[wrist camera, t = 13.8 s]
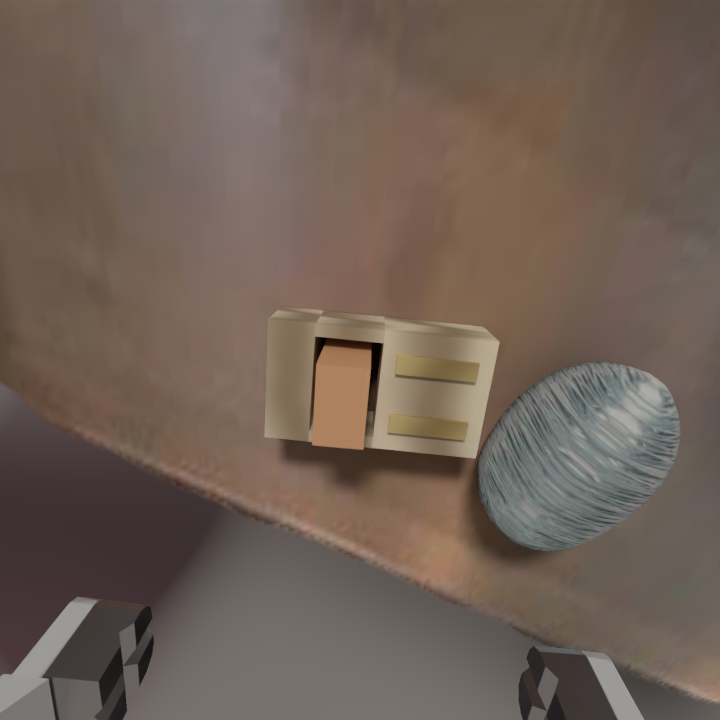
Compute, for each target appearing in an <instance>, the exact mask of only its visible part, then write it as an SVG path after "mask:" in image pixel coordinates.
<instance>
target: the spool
mask: <svg viewBox="0 0 720 720" xmlns="http://www.w3.org/2000/svg"><path fill="white" fill-rule="evenodd" d="M679 441H680V422H679V416H678V413H677V409H676V406H675V403H674V400H673V397H672V395H671V393H670V392H669V390H668V389H667V388H666V386H665V385H664V384H663V383H662V382H660V381H659V380H658V379H657V378H655V377H654V376H652V375H651V374H649V373H646V372H644V371H641V370H639V369H636V368H633V367H630V366H626V365H622V364H617V363H612V362H588V363H581V364H577V365H574V366H570V367H567V368H564V369H561V370H559V371H557V372H555V373H553V374H551V375H548V376H547V377H545V378H544V379H542V380H541V381H539V382H538V383H536V384H535V385H533V386H532V387H530V388H529V389H527V390H526V391H525V392H524V393H522V394H521V395H520V396H519V397H518V398H517V399H516V400H515V401H514V402H513V403H512V404H511V406H510V407H509V408H508V409H507V410H506V411H505V413H504V414H503V415H502V416H501V418H500V419H499V420H498V422H497V423H496V425H495V427H494V429H493V430H492V432H491V433H490V435H489V436H488V438H487V440H486V442H485V444H484V445H483V448H482V451H481V454H480V457H479V461H478V467H477V487H478V492H479V496H480V500H481V503H482V506H483V508H484V509H485V511H486V513H487V515H488V517H489V519H490V520H491V522H492V523H493V524H494V526H495V527H496V528H497V529H498V530H499V531H500V532H501V533H502V534H503V535H504V536H505V537H507V538H508V539H510V540H511V541H513V542H515V543H517V544H519V545H521V546H524V547H526V548H528V549H533V550H539V551H546V552H549V551H559V550H566V549H571V548H574V547H577V546H580V545H582V544H584V543H586V542H588V541H591V540H593V539H596V538H598V537H599V536H601V535H603V534H604V533H606V532H608V531H609V530H611V529H612V528H614V527H615V526H617V525H618V524H620V523H621V522H623V521H624V520H625V519H627V518H628V517H629V516H631V515H632V514H633V513H635V512H636V511H637V510H638V509H639V508H640V507H641V506H642V505H644V503H645V502H646V501H647V500H648V499H649V498H650V497H651V496H652V495H653V494H654V493H655V492H656V491H657V490H658V489H659V487H660V486H661V485H662V483H663V482H664V481H665V479H666V477H667V476H668V474H669V472H670V470H671V468H672V466H673V464H674V462H675V459H676V455H677V452H678V447H679Z"/></svg>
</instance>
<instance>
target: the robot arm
mask: <svg viewBox="0 0 720 720" xmlns="http://www.w3.org/2000/svg"><path fill="white" fill-rule="evenodd" d="M151 620H152V610H151V606H145V605H138V604H131V603H123V602H116V601H109V600H101V599H92V598H84V597H77V598H76V599H74V600H73V601H71V602H70V603H69V604H68V605H67V607H66V608H65V609H64V610H63V611H62V613H61V614H60V615H59V616H58V618H57V619H56V620H55V621H54V623H53V624H52V625H51V626H50V628H49V629H48V630H47V631H46V632H45V634H44V635H43V636H42V638H41V639H40V640H39V641H38V642H37V644H36V645H35V646H34V647H33V649H32V650H31V651H30V652H29V654H28V655H27V656H26V657H25V659H24V660H23V661H22V662H21V664H20V665H19V666H18V667H17V669H16V670H15V671H14V672H13V674H3V675H1V676H0V720H123V718H124V716H125V714H126V712H127V704H126V697H127V696H129V695H130V694H131V693H132V692H133V691H135V690H136V689H137V688H138V687H139V686H140V684H141V682H142V680H143V678H144V676H145V674H146V672H147V669H148V666H149V663H150V660H151V657H152V652H153V645H154V636H153V633H152V632H151V631H150V630H149V629H148V625H149V624H150V622H151ZM527 661H528V664H529V667H530V668H528V669H527V670H525V671H524V672H523V673H522V674H521V678H520V682H519V705H520V710H521V715H522V718H523V720H644V719H643V717H642V715H641V713H640V712H639V710H638V708H637V706H636V704H635V703H634V701H633V699H632V697H631V695H630V694H629V692H628V690H627V688H626V686H625V684H624V683H623V681H622V679H621V677H620V676H619V674H618V672H617V670H616V668H615V666H614V665H613V663H612V661H611V659H610V658H609V657H608V656H607V655H606V654H605V653H597V652H588V651H578V650H574V649H563V648H552V647H540V646H533V647H531V648H530V649H529V652H528V655H527Z"/></svg>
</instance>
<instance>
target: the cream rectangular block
mask: <svg viewBox="0 0 720 720" xmlns="http://www.w3.org/2000/svg"><path fill="white" fill-rule="evenodd" d="M322 337H326V338H336V339H346V340H356V341H365V342H375V343H381V347H380V356H379V365H378V374H377V382H376V391H375V400H374V409H373V411H367V416H366V426H365V437H364V447H367V448H377V449H387V450H396V451H406V452H416V453H426V454H436V455H445V456H455V457H465V458H475V459H476V455H477V450H478V445H479V440H480V435H481V431H482V426H483V421H484V416H485V411H486V406H487V401H488V396H489V391H490V387H491V382H492V377H493V372H494V367H495V362H496V357H497V352H498V347H499V343H500V342H499V341H498V340H497V339H496V338H495V337H494V336H493V335H492V334H491V333H489V332H488V331H487V330H486V329H485V328H484V327H481V326H471V325H461V324H451V323H442V322H432V321H422V320H412V319H402V318H392V317H382V316H372V315H362V314H352V313H342V312H332V311H322V310H312V309H302V308H292V307H283V306H282V307H281V308H280V309H278V310H277V311H276V312H275V313H274V314H273V315H272V316H271V317H269V318H268V335H267V371H266V407H265V437H269V438H279V439H288V440H298V441H308V442H312V436H313V417H314V398H315V378H316V364H317V361H318V359H319V356H320V354H321V341H322Z"/></svg>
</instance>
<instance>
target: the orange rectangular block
mask: <svg viewBox="0 0 720 720" xmlns="http://www.w3.org/2000/svg"><path fill="white" fill-rule="evenodd" d="M371 346H372V342H365V341H356V340H346V339H336V338H327V340H326V342H325V344H324V347H323V349H322V352H321V354H320V356H319V359H318V361H317V364H316V378H315V398H314V417H313V436H312V445H314V446H325V447H337V448H348V449H359V450H363V448H364V437H365V426H366V416H367V405H368V395H369V384H370V373H371Z"/></svg>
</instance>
